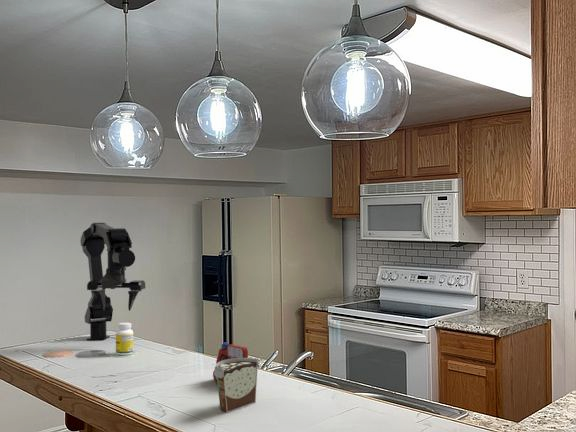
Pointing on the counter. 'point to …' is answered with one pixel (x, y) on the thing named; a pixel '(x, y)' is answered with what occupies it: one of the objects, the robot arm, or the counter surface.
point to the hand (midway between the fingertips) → (116, 310)
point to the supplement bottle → (124, 339)
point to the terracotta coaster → (58, 353)
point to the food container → (236, 383)
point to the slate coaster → (91, 353)
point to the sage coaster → (122, 355)
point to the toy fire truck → (230, 354)
